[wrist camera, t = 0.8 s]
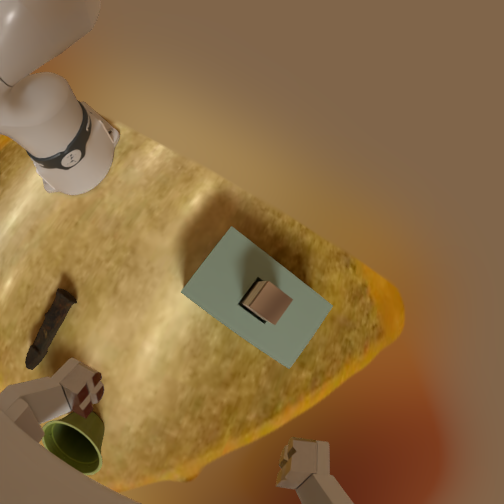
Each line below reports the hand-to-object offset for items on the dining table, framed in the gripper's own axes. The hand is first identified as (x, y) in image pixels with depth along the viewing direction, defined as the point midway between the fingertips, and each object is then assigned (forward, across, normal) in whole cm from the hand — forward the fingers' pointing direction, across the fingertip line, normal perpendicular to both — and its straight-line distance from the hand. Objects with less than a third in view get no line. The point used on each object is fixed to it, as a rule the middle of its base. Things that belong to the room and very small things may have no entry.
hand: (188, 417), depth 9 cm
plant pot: (+16, +24, +42) cm, 51 cm away
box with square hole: (+37, +1, +15) cm, 40 cm away
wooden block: (+33, 0, +12) cm, 35 cm away
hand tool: (+22, +34, +27) cm, 49 cm away
